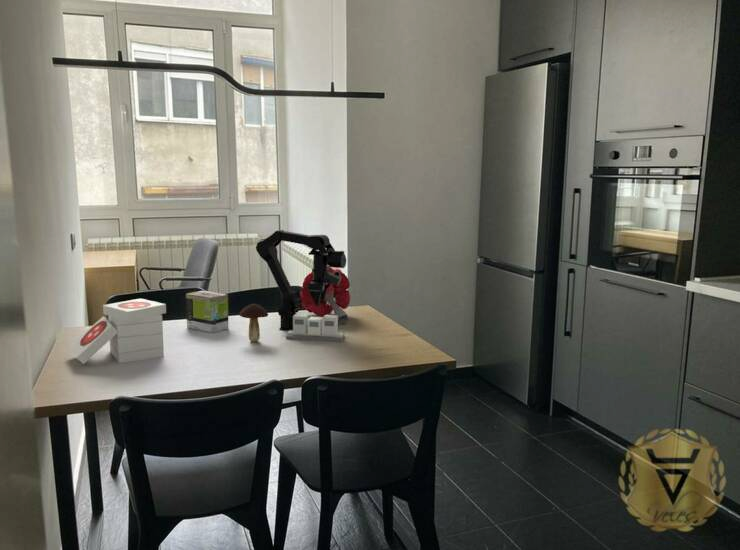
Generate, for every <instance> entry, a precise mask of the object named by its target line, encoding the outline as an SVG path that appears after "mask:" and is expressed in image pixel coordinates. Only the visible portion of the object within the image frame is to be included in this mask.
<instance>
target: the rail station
mask: <svg viewBox="0 0 740 550" xmlns="http://www.w3.org/2000/svg"><path fill="white" fill-rule="evenodd" d="M308 319H309V313H300V312H297V313H296V314H295V315H294V316H293V330H287V334H286V335H285V339H286V340H294V339H297V340H298V341H299V340H300V341H313V342H314V341H315V342H316V341H317V342H331V341H337V342H336V343H341V342H342V341H343V340H344V338H345V333H344V332H339V331H338V330H339V328H338V327H339V325H338V324H339V323H338V315H335V314H329V315H328V314H327V315H324V317H323V332H322V333H321V335H311V334H308ZM342 339H343V340H342Z"/></svg>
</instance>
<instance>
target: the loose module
mask: <svg viewBox="0 0 740 550" xmlns="http://www.w3.org/2000/svg"><path fill="white" fill-rule="evenodd" d="M322 332H323V317H320V316H310V317H308V334H311V335H321V333H322Z"/></svg>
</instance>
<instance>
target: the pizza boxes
mask: <svg viewBox="0 0 740 550" xmlns="http://www.w3.org/2000/svg"><path fill="white" fill-rule="evenodd" d="M102 309H103V310H102V311H103V316H102V317H100V318H99V319H98V320H97V321H96V322H95V323H94V324H93V325H91V326H90V327H89V328H88V329H87V330H86V331H85V332H84V333H83V334H81V336H80V337H78V338H77V339H76V340H75V341H74V342H73V343H71V344H70V346H69V349H70V350H71V352H72V353H73V355H74V357H75V359H77V360H78V361H79V362H81V364H83V365H85V363H87V361H88V360H90V359H91V358H92V357H93V356H94V355H95V354H96V353H97V352H98V351H100V349H102V348H103V347H104V346H105V345H106V344H107V343H108V342H109V352H110V353H111V354H112V355H113V357H114V358H115V360H116V361H117V362H118V364H120V363H121V364H122V363H128V362H136V361H141V360H148V359H153V358H154V359H155V358H161V357H164V355H165V353H164V352H165V351H164V349H165V348H164V334H163V333H164V332H163V331H164V330H163V329H164V328H163V314H167V304H166V303H163V302H162V303H161V302H158V301H154V300H148V299H146V298H136V299H130V300H125V301H119V302H113V303H112V302H111V303H108V304H102ZM104 315H106V316H108V317H107V318H108V319H107V318H106V317H105V316H104Z"/></svg>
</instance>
